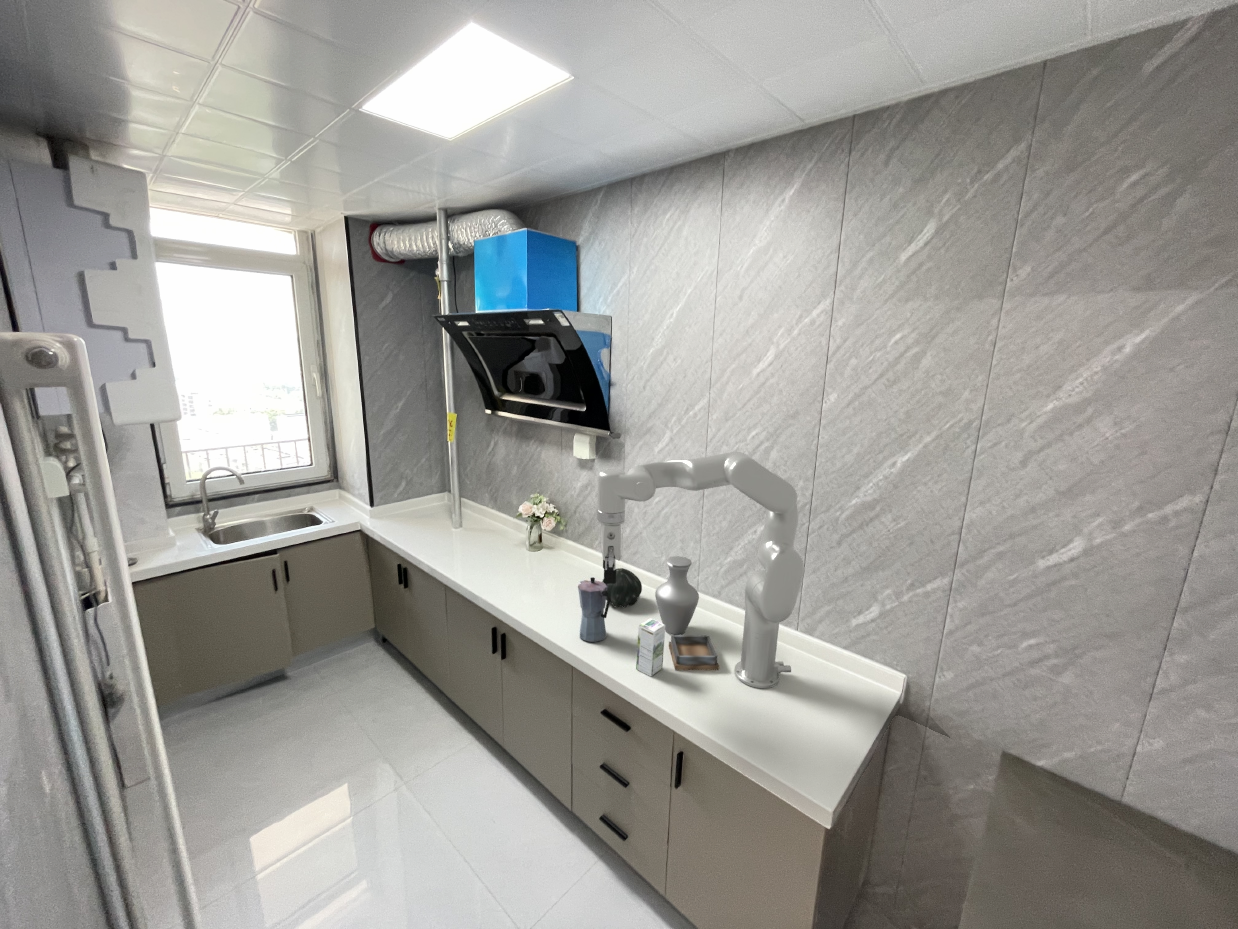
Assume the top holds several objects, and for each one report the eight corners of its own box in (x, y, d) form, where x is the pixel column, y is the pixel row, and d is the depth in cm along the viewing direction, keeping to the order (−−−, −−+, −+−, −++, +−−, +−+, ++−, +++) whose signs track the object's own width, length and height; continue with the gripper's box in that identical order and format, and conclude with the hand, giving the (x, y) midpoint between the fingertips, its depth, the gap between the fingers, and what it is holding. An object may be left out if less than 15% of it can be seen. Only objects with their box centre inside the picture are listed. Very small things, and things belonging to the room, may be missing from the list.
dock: (709, 646, 164) (709, 634, 163) (718, 670, 151) (719, 658, 150) (668, 645, 163) (669, 634, 162) (675, 670, 150) (675, 658, 150)
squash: (626, 575, 202) (609, 555, 193) (654, 589, 192) (638, 568, 182) (605, 605, 197) (587, 586, 187) (633, 621, 187) (615, 601, 177)
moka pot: (589, 622, 176) (590, 567, 172) (621, 640, 165) (623, 582, 161) (567, 632, 169) (568, 575, 165) (599, 651, 159) (600, 591, 155)
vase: (648, 636, 168) (651, 565, 163) (660, 616, 182) (663, 550, 176) (691, 645, 164) (696, 572, 158) (700, 624, 177) (705, 556, 172)
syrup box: (647, 661, 154) (649, 617, 151) (663, 669, 151) (665, 623, 148) (635, 669, 150) (637, 624, 147) (651, 677, 146) (654, 631, 143)
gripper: (626, 526, 129) (624, 589, 133) (622, 507, 146) (620, 563, 150) (597, 526, 129) (595, 589, 132) (596, 506, 146) (595, 563, 149)
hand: (609, 575), depth 141 cm, fingers open, 9 cm apart
